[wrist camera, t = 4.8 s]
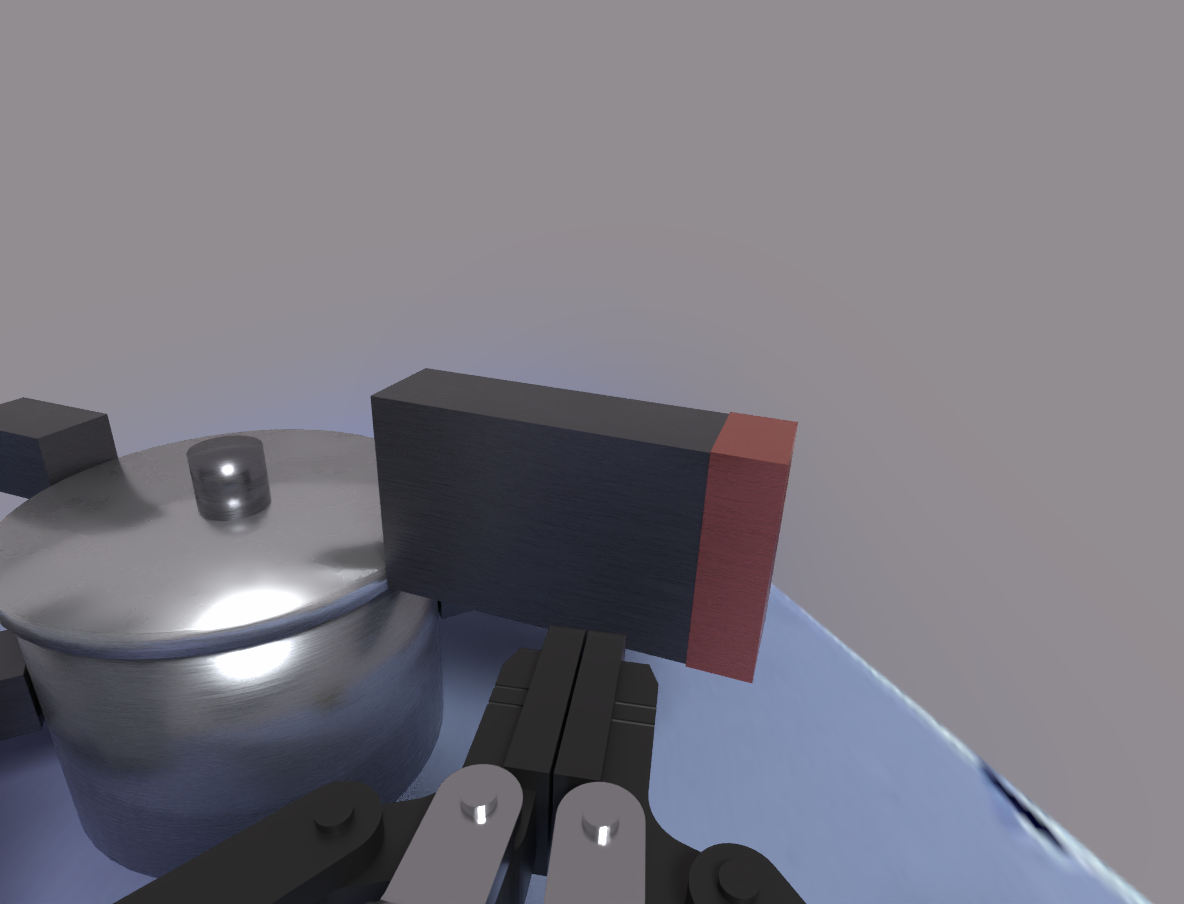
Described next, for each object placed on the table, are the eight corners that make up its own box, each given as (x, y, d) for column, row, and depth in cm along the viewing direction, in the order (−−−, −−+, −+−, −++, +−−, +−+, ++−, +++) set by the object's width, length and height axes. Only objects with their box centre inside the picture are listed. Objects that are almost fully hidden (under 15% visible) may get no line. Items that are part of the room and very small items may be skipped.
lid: (-225, 557, 25) (-321, 359, 22) (158, 414, 39) (129, 279, 36) (713, 872, 16) (756, 597, 13) (782, 536, 30) (810, 366, 27)
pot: (-143, 860, 26) (-264, 635, 22) (252, 542, 47) (227, 397, 43) (575, 1040, 22) (587, 802, 18) (658, 602, 42) (672, 446, 38)
